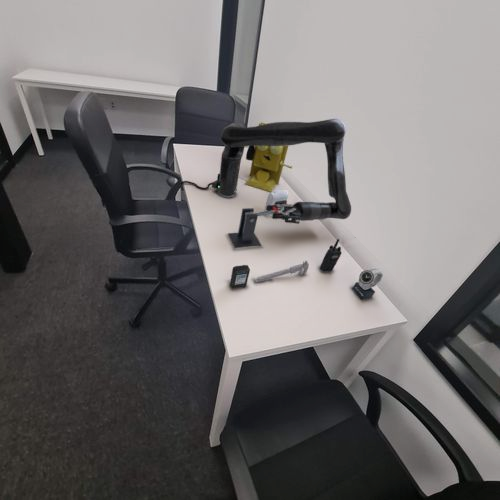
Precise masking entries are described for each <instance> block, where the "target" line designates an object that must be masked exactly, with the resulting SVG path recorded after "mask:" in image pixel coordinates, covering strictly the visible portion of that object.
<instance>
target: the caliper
mask: <svg viewBox="0 0 500 500" xmlns="http://www.w3.org/2000/svg"><path fill="white" fill-rule="evenodd" d="M308 270H309V262H308V260H305V261H302V263H299V264H296V265H293V266H290V267H289V268H286V269H285V268H284V269H283V270H282V269H281V270H278V271H275V272H272V273H268V274H265V275H262V276H258V277H257V278H255V279H253V280H254V283H260V282H264V281H268V280H272V279H274V278H275V279H276V278H278V277H281V276H284V275H287V274H290V275H292V274H296V273H299V275H300V276H303V275H302V274H304V275H306V274H307V272H308Z"/></svg>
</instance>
